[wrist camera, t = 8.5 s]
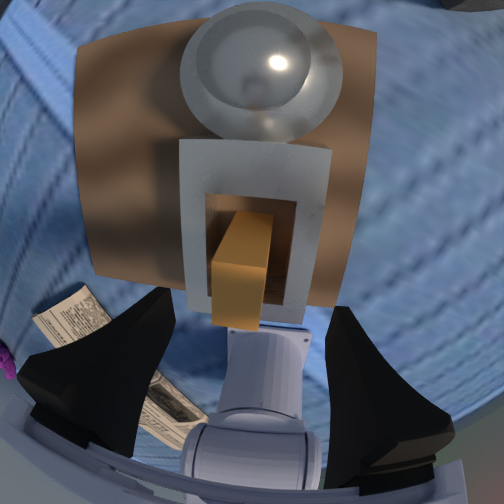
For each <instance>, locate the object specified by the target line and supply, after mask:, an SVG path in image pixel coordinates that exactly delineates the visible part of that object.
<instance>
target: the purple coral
mask: <svg viewBox="0 0 504 504" xmlns="http://www.w3.org/2000/svg"><path fill="white" fill-rule="evenodd" d="M2 368H3V369H4V370H5V377H6V378H7V379H9V380H11V379H12V378H15V377H16V366H15V363H14V360H13V358H12V356H11V354H10V353H9V350H8V349H6V347H5V346H3V345H2V344H1V343H0V369H2Z"/></svg>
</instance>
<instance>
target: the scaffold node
mask: <svg viewBox="0 0 504 504" xmlns="http://www.w3.org/2000/svg"><path fill="white" fill-rule="evenodd" d="M342 80H343V67H342V61H341V57H340V54H339V51H338V48H337V46H336V44H335V42H334V40H333V39H332V37H331V36H330V35H329V33H328V32H327V31H326V30H325V28H324V27H323V26H322V25H321V24H320V23H318V22H317V21H316V20H315V19H314V18H312V17H311V16H309V15H307V14H306V13H304V12H302V11H300V10H298V9H296V8H293V7H290V6H287V5H283V4H279V3H273V2H251V3H244V4H240V5H236V6H233V7H230V8H228V9H225V10H223V11H221V12H219V13H217V14H216V15H214V16H212V17H211V18H210V19H208V20H207V21H206V22H205V23H204V24H203V25H201V26H200V27H199V28H198V30H197V31H196V32H195V33H194V34H193V36H192V37H191V39H190V41H189V42H188V44H187V46H186V48H185V51H184V53H183V57H182V60H181V66H180V83H181V89H182V92H183V96H184V99H185V101H186V103H187V105H188V107H189V108H190V110H191V112H192V113H193V114H194V116H195V117H196V118H197V119H198V120H199V121H200V122H201V123H202V124H203V125H204V126H205V127H206V128H207V129H209V130H210V131H212V132H213V133H215V134H217V135H195V136H190V137H186V138H182V139H179V176H180V209H181V230H182V247H183V261H184V273H185V285H186V295H187V305H188V310H191V311H197V312H203V313H210V314H212V278H211V267H212V259H213V257H214V255H215V253H216V251H217V249H218V247H219V197H220V194H223V195H237V196H249V197H260V198H270V199H280V200H290V201H294V204H293V213H292V221H291V229H290V237H289V245H288V253H287V260H286V268H285V275H284V277H283V276H274V275H266V281H265V288H264V295H263V301H262V308H261V315H260V320H263V321H272V322H281V323H291V324H302V322H303V317H304V313H305V308H306V304H307V299H308V294H309V290H310V285H311V280H312V275H313V270H314V265H315V259H316V254H317V249H318V243H319V237H320V232H321V226H322V220H323V213H324V207H325V201H326V194H327V187H328V180H329V172H330V164H331V156H332V149H331V148H329V147H328V146H326V145H325V144H323V143H316V142H308V141H300V140H295V139H297V138H299V137H302V136H304V135H306V134H307V133H309V132H310V131H312V130H313V129H315V128H316V127H317V126H318V125H319V124H320V123H322V122H323V120H324V119H325V118H326V117H327V116H328V115H329V113H330V112H331V110H332V109H333V107H334V106H335V104H336V102H337V99H338V97H339V94H340V91H341V87H342Z"/></svg>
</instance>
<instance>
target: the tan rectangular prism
mask: <svg viewBox="0 0 504 504" xmlns="http://www.w3.org/2000/svg"><path fill="white" fill-rule="evenodd" d="M273 218H274V215H272V214H264V213H255V212H246V211H237V212H236V214H235V216H234V218H233V220H232V222H231V224H230V226H229V228H228V229H227V231H226V233H225V235H224V237H223V239H222V241H221V243H220V245H219V247H218V249H217V251H216V253H215V255H214V257H213V259H212V267H211V278H212V325H217V326H224V327H230V328H236V329H243V330H250V331H257V332H258V328H259V321H260V315H261V308H262V301H263V295H264V288H265V281H266V274H267V267H268V260H269V251H270V243H271V235H272V226H273Z"/></svg>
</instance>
